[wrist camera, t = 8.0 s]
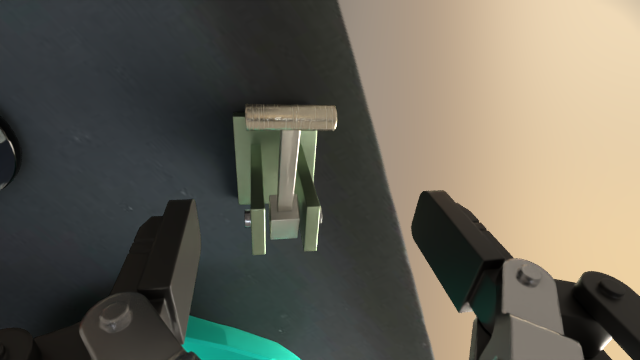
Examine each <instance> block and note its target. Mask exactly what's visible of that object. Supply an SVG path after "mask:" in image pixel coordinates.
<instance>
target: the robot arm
mask: <svg viewBox="0 0 640 360" xmlns="http://www.w3.org/2000/svg"><path fill="white" fill-rule="evenodd" d="M411 229H412V236H413V239H414V241H415V242H416V244H417V245H418V247H419V249H420V250H421V252H422V254H423V255H424V257H425V259H426V260H427V262H428V263H429V265H430V267H431V268H432V270H433V271H434V273H435V275H436V277H437V278H438V280H439V281H440V283H441V284H442V286H443V288H444V289H445V291H446V293H447V294H448V296H449V297H450V299H451V301H452V302H453V304H454V306H455V307H456V309H457V311H458V312H459V313H462V312H470V311H474V313H475V314H476V318H475V320H474V322H473V330H472V339H471V347H470V357H469V360H612V359H611V358H610V357H609V356H608V355H607V354H606V352H605V351H604V350H603V348H604V347H605V346H606V345H607V344H608V343H609V341H610V340H611V339H612V338H613V339H614V340H615V341H616V342H617V343H618V344H619V345H620V347H621V348H622V349H623V350H624V351H625V352H626V353H627V354H628V355H629V356H630V357H631V358H632V359H633V360H640V296H639V295H638V294H636V293H635V292H634V291H633V290H632V289H631V288H629V287H628V286H627V285H625V284H624V283H623V282H621V281H619V280H617V279H615V278H614V277H611V276H609V275H606V274H603V273H600V272H594V271H588V272H585V273H583V274H582V276H581V277H580V278H579V280H578V281H577V283H574V282H568V281H562V280H557V279H553V278H552V277H551V275H550V274H549V273H548V272H547V271H545V270H544V269H543V268H541V267H540V266H538V265H536V264H534V263H532V262H530V261H527V260H524V259H518V258H513V257H512V256H511V255H510V253H509V252H508V251H507V250H506V249H505V248H504V247H503V246H502V245H501V244H500V243H499V242H498V241H497V239H496V238H495V237H494V236H493V235H492V234H491V233H490V232H489V231H487V230H486V228H485V227H484V226H483V224H482V223H479V220H478V219H477V218H476V217H475V216H474V215H473V214H472V213H471V212H470V211H469V210H468V209H466V208H464V207H463V206H461V205H460V204H458V203H455V202H454V200H453V199H452V198H451V197H450V196H449V195H448V194H447V193H446V192H445V191H443V190H442V191H441V190H440V191H423V192H422V193H421V194H420V197H419V200H418V203H417V207H416V211H415V214H414V218H413V221H412V226H411ZM200 252H201V235H200V229H199V222H198V215H197V209H196V203H195V200H194V199H188V200H169V202H168V204H167V207H166V209H165V212H164V215H163V216H154V217H151V218H149V219H148V220H147V221H146V222H145V223H144V224H143V225H142V226H141V227H140V228H139V230H138V232H137V235H136V237H135V239H134V243H133V244H132V246H131V248H130V250H129V254H128V255H127V257H126V260H125V262H124V264H123V266H122V269H121V271H120V273H119V275H118V278H117V280H116V282H115V284H114V287H113V289H112V291H111V293H110V295H109V296H108V297H106V298H104V299H102V300H101V301H99V302H98V303H96V304H95V305H94V306H93V307H92V308H90V309H89V311H88V312H87V313H86V314H85V316H84V317H83V319H82V321H80V322H78V323H76V324H73V325H71V326H68V327H65V328H62V329H59V330H56V331H54V332H51V333H48V334H45V335H42V336H39V337H36V338H33V337H32V336H31V334H30V333H29V332H28V331H26V330H24V329H21V328H5V329H0V360H201V359H200V358H199V357H198V356H197V355H196V354H195V353H194V352H192V351H190V352H189V353H188V352H187V351H186V350H185V349H184V348H183V347H182V344H184V341H185V335H186V330H187V324H188V319H189V313H190V308H191V302H192V297H193V291H194V286H195V280H196V275H197V269H198V264H199V258H200Z"/></svg>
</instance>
